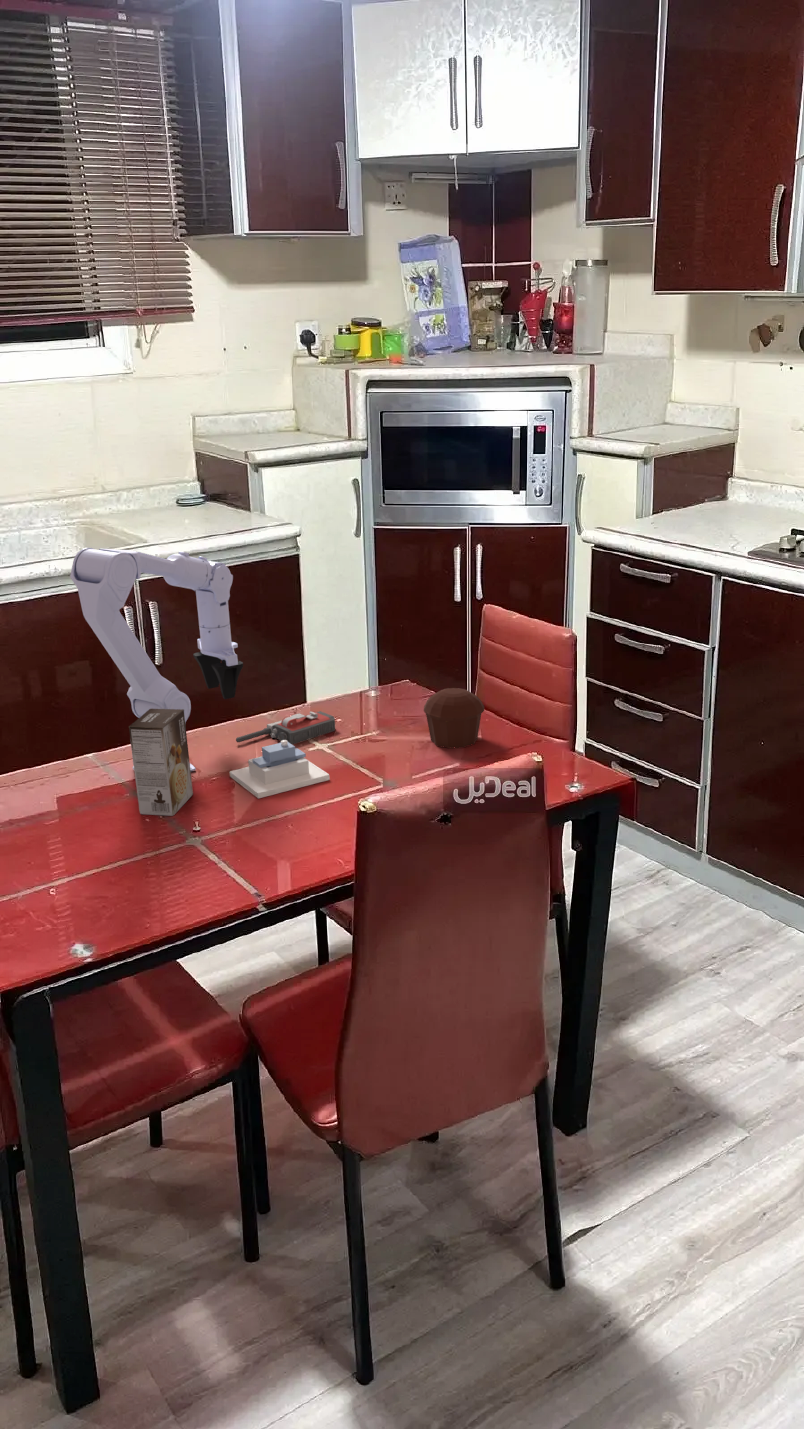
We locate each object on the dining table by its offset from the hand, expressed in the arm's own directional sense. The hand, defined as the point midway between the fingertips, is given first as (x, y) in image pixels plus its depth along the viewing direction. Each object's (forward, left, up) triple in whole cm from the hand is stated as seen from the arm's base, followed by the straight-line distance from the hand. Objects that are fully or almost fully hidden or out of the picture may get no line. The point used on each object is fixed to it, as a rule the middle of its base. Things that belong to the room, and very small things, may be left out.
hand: (220, 692), depth 222 cm
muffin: (+37, -25, -11) cm, 46 cm away
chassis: (+1, -22, -10) cm, 24 cm away
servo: (+1, -22, -9) cm, 24 cm away
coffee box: (-20, -21, -11) cm, 31 cm away
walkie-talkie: (+12, -4, -11) cm, 17 cm away
